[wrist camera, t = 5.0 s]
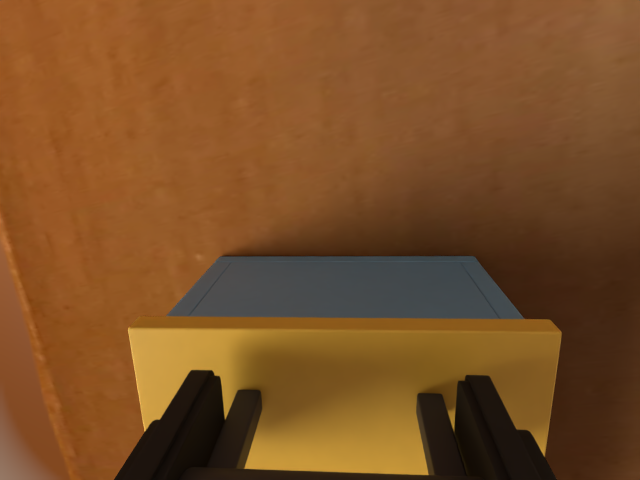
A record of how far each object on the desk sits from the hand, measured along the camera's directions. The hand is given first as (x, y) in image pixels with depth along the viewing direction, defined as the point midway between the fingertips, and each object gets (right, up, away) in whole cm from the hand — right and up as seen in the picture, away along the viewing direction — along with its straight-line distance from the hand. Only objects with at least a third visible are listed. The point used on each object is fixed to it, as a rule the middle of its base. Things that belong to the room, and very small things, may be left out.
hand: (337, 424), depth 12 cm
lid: (0, -5, +3) cm, 6 cm away
